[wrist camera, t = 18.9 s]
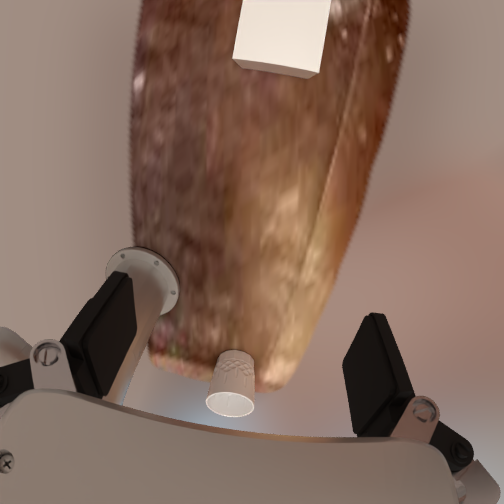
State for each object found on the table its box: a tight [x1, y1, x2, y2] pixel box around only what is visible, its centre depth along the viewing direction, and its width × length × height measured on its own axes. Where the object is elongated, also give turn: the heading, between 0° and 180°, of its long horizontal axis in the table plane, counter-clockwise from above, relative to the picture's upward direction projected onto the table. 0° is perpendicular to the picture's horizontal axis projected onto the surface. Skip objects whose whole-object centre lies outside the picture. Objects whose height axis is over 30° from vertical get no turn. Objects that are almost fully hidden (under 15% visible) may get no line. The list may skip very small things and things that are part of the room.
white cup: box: [206, 350, 255, 417], centre depth 49 cm, size 8×8×10 cm
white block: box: [232, 0, 331, 79], centre depth 25 cm, size 10×8×9 cm
